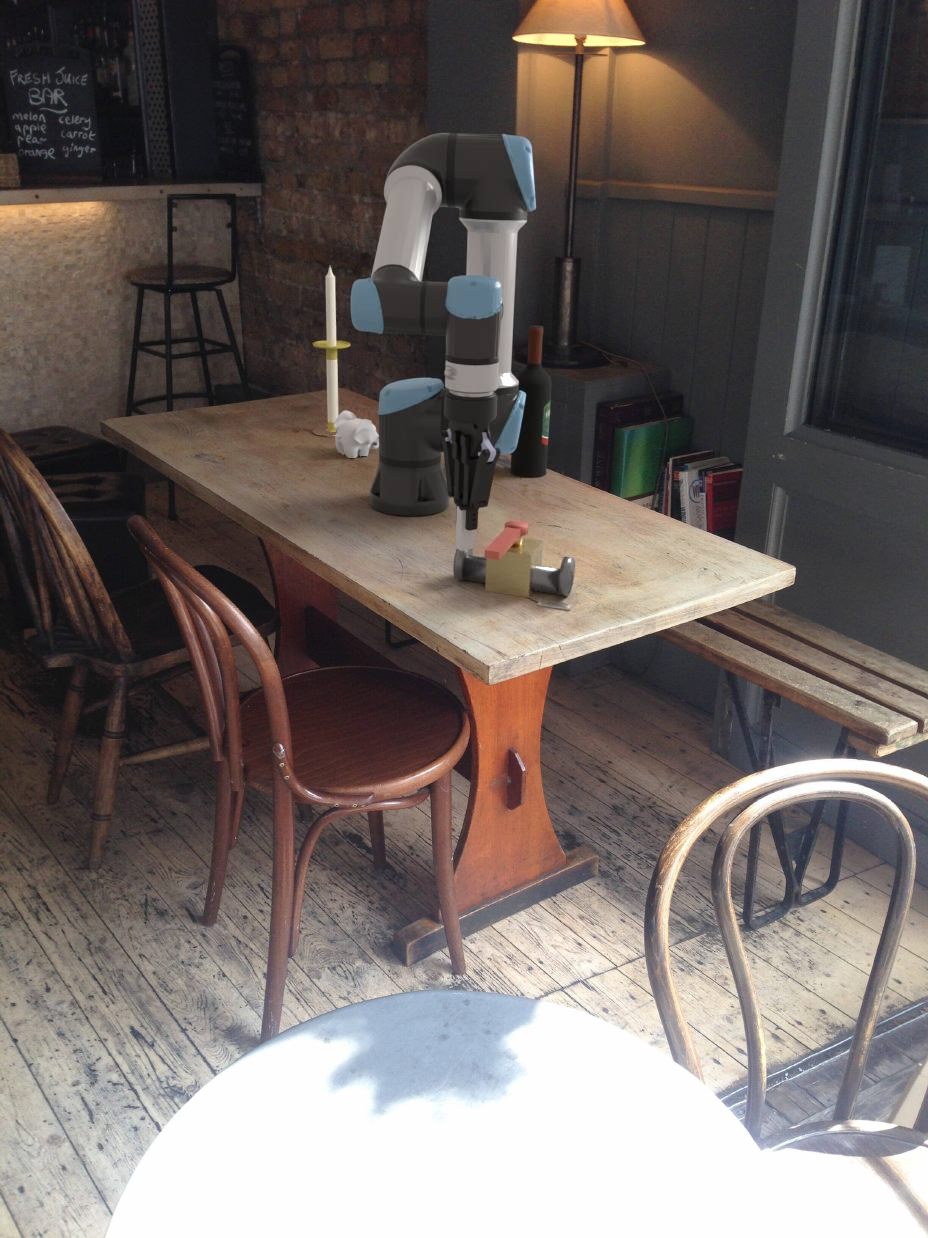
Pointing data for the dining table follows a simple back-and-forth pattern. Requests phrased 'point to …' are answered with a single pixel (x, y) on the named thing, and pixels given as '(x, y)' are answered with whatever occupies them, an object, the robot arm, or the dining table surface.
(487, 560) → the valve
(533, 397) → the wine bottle
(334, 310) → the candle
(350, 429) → the elephant figurine
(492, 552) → the lever
